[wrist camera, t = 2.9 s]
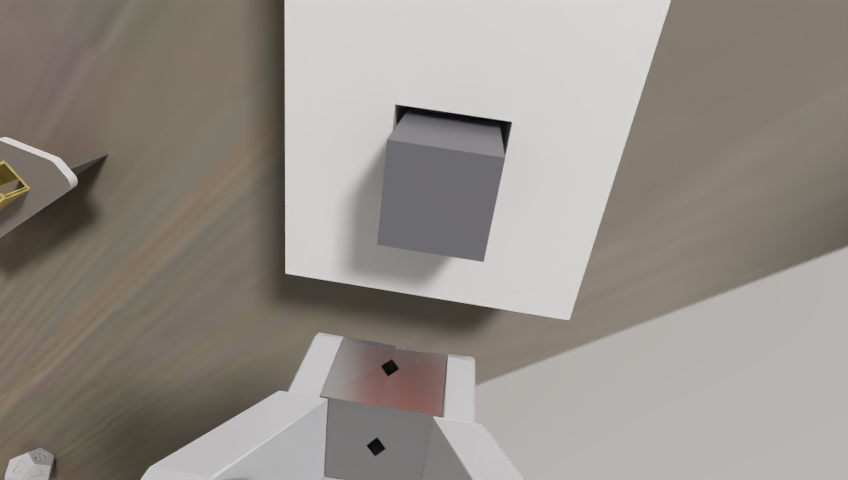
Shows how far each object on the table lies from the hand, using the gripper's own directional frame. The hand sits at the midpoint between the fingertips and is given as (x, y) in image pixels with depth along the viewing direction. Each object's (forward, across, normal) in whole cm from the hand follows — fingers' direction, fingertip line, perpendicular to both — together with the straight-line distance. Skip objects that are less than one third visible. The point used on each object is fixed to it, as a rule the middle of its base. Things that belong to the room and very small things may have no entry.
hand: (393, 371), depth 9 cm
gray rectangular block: (+14, 0, 0) cm, 14 cm away
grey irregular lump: (+20, +32, +34) cm, 51 cm away
